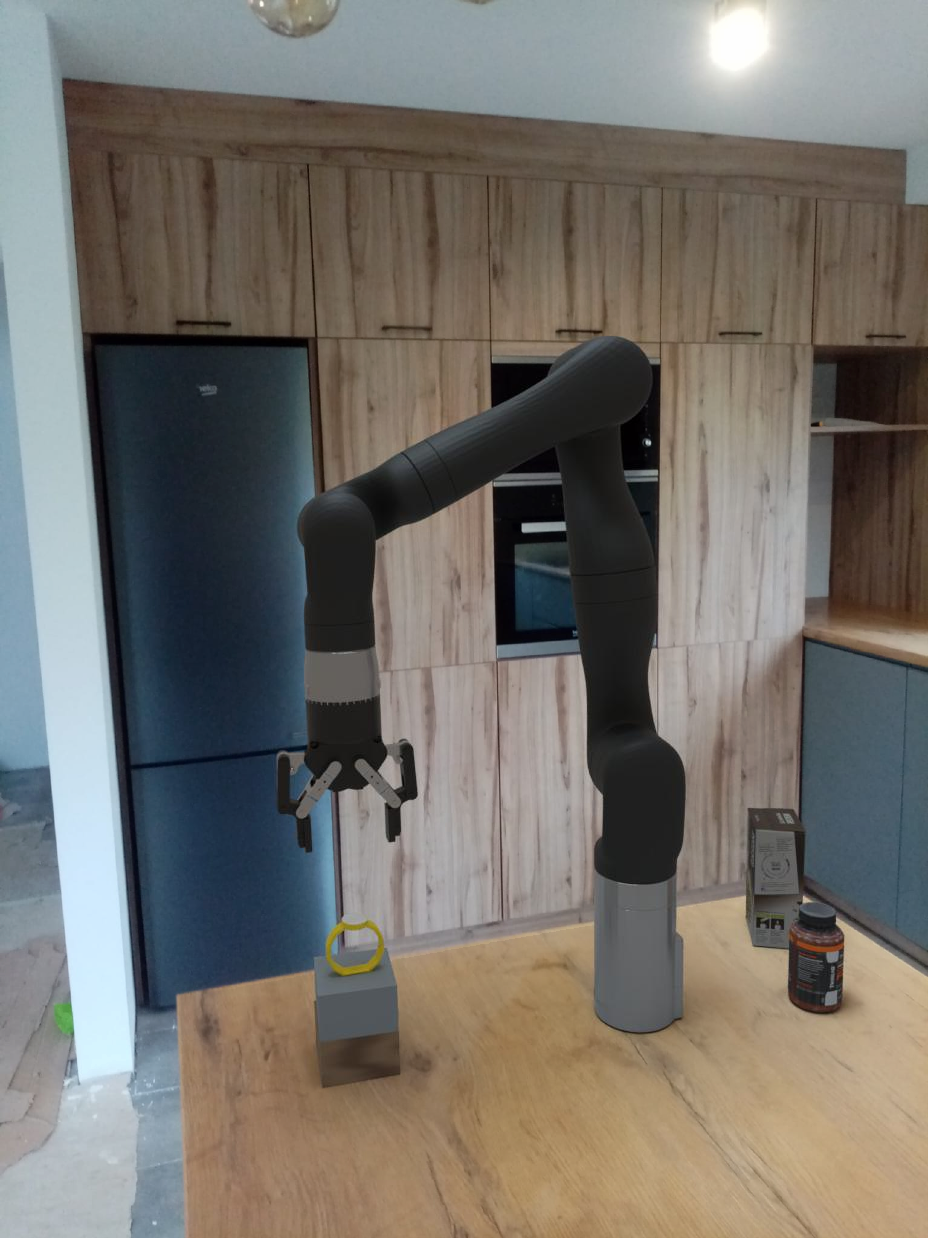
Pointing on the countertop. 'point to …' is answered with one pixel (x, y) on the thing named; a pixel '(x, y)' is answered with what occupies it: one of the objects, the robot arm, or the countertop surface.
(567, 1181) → the countertop surface
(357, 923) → the watch
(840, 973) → the supplement bottle
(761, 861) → the coffee box
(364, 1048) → the walnut block
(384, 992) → the grey block
